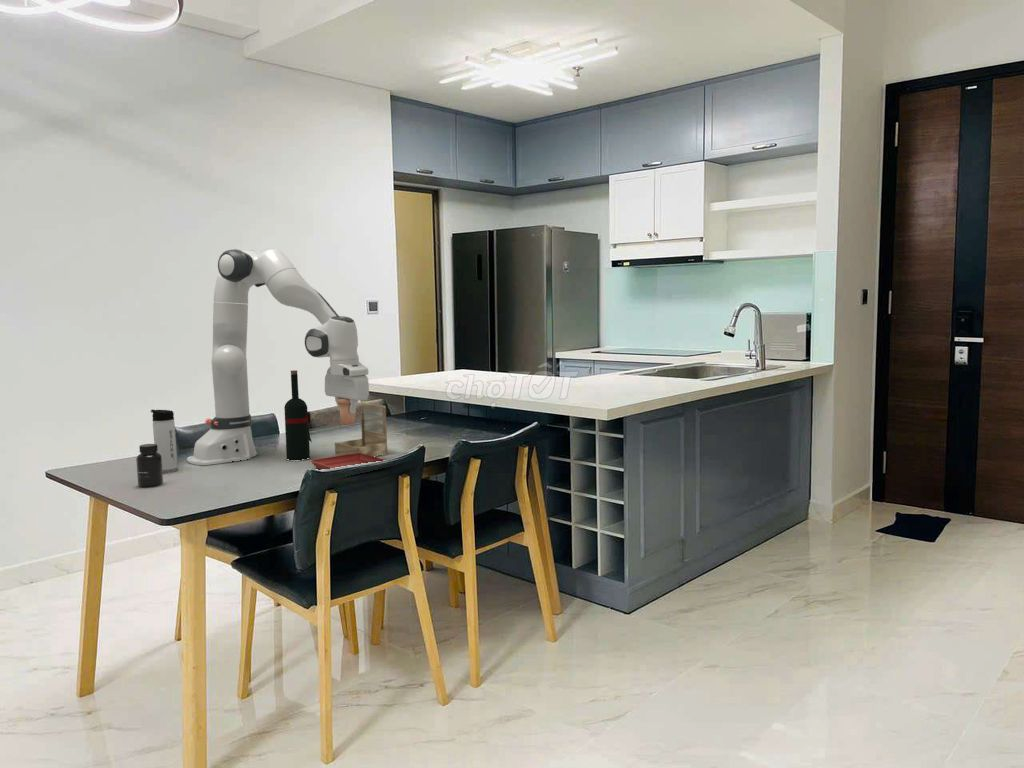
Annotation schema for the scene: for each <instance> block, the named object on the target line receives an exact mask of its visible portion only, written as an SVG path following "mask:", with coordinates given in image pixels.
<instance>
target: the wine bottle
mask: <svg viewBox="0 0 1024 768" xmlns="http://www.w3.org/2000/svg"><path fill="white" fill-rule="evenodd" d="M298 379H299V378H298V370H290V381H291V382H290V383H291V384H290V386H291V398H290V399H289V400H288V401H286V403H285V405H284V426H285V427H284V431H285V450H286V452H285V453H286V460H287V459H289V460H302V459H307V458H310V459H311V449H310V442H311V443H313V440H312V438H311V436H310V435H311V434H310V427H309V424H310V423H311V412H310V411H308V405H307V403H306V401H305V400H303V399H302V398H300V397H299V396H300V395H299V381H298ZM307 460H308V459H307Z"/></svg>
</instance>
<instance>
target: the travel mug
mask: <svg viewBox="0 0 1024 768" xmlns="http://www.w3.org/2000/svg"><path fill="white" fill-rule="evenodd" d="M150 413H152V415H151V416H152V429H153V430H152V431H153V442H154V443H153V444H157V449H158V451H157V453H159V454H161V456H162V470H163V474H169V473H168V472H171V473H173V472H174V471H175V472H177V471H178V469H179V467H178V454H177V439H176V426H175V414H174V413H175V412H174V411H173V410H169V409H151V410H150ZM175 472H174V473H175Z"/></svg>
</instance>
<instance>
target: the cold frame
mask: <svg viewBox="0 0 1024 768" xmlns="http://www.w3.org/2000/svg"><path fill="white" fill-rule="evenodd" d="M360 408H361V409H360V418H361V419H360V421H361V423H360V424H361V425H360V427H361V438H356V439H351V440H345V441H339V442H334V455H336V454H337V455H336V456H340V455H347V454H353V453H363V454H367V455H370V456H377V455H382V456H384V455H383V454H387V455H388V437H387V436H388V435H387V433H388V432H387V410H386V409H387V408H386V405H381V404H380V405H379V404H374V403H368V402H360ZM377 457H378V456H377Z"/></svg>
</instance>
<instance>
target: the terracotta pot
mask: <svg viewBox="0 0 1024 768" xmlns="http://www.w3.org/2000/svg"><path fill="white" fill-rule="evenodd" d="M337 403H339V411H338V412H339V424H340V425H345V426H346V425H354V424H356V422H357V421H356V413H349V407H350V405H351V403H350V399H346V398H337ZM337 403H336V404H337Z"/></svg>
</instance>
